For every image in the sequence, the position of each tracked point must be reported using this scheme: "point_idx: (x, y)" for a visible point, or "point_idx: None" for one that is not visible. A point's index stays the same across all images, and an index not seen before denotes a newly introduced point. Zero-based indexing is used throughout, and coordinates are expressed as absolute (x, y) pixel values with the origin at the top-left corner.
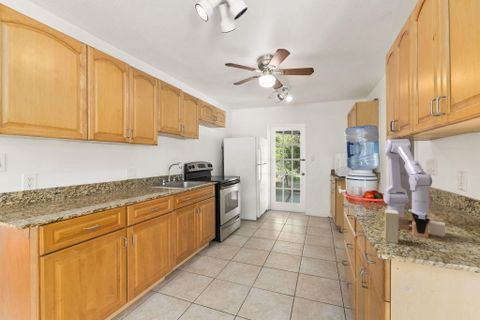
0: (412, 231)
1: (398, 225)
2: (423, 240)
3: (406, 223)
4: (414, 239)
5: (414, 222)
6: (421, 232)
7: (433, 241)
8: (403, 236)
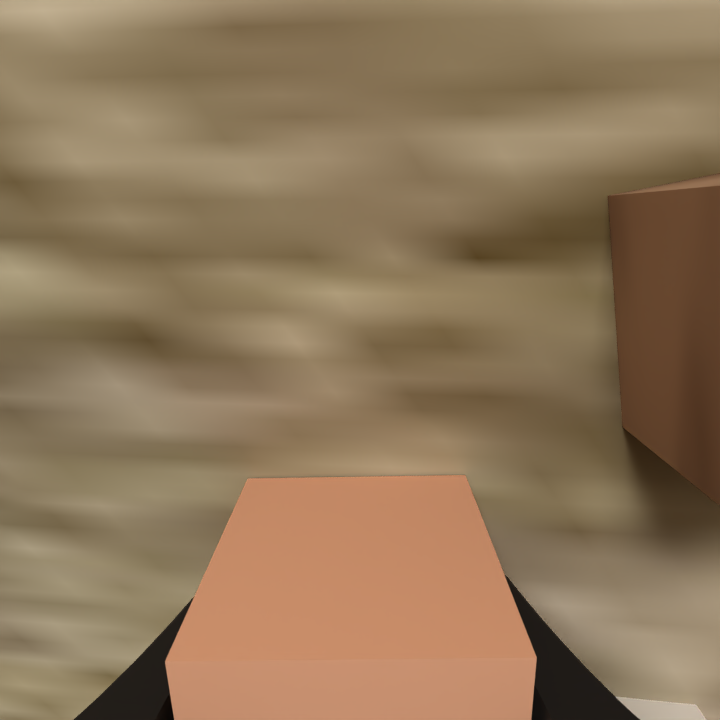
0: (438, 486)
1: (651, 250)
2: (55, 586)
3: (706, 448)
4: (4, 480)
5: (402, 696)
6: None
7: None
8: (50, 327)
